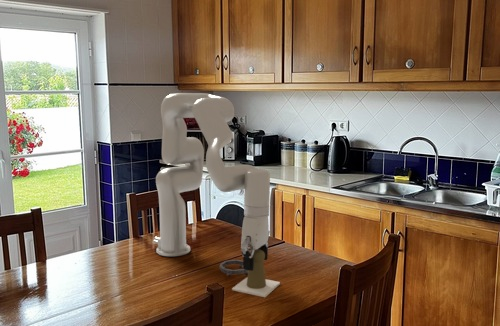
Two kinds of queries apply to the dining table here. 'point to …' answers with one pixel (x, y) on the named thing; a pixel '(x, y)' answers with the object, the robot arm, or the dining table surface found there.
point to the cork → (257, 271)
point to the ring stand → (229, 271)
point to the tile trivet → (258, 292)
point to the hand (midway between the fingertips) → (255, 264)
